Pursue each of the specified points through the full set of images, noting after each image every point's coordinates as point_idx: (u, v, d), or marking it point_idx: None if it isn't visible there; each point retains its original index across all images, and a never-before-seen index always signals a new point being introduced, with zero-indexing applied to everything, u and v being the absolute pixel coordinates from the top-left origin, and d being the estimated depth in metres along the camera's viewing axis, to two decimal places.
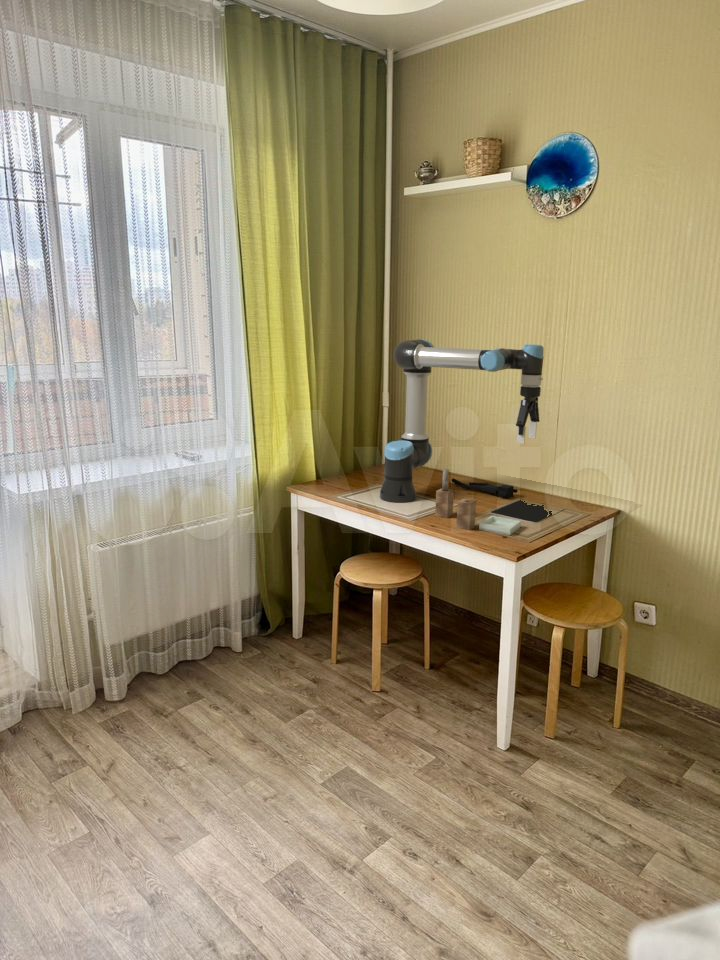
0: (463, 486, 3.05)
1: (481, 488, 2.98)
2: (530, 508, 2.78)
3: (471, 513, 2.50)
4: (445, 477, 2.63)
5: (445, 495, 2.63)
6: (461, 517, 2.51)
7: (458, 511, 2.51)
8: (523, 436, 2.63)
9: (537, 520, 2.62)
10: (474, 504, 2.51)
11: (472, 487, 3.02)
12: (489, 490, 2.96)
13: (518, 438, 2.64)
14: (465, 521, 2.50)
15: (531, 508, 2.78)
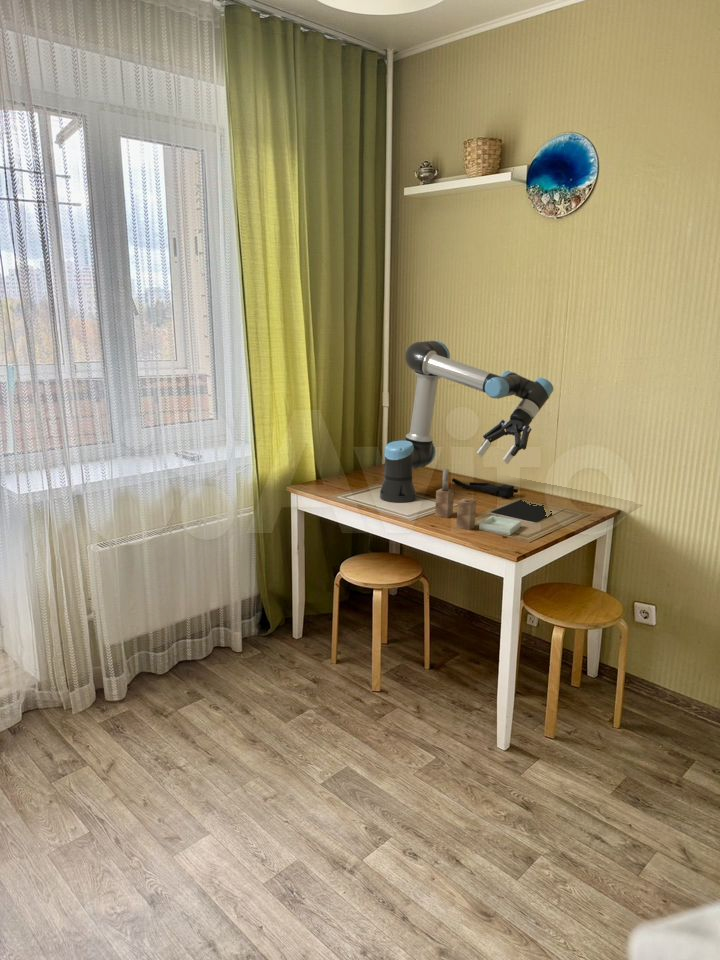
0: (463, 486, 3.05)
1: (481, 488, 2.99)
2: (530, 508, 2.78)
3: (471, 513, 2.50)
4: (445, 477, 2.63)
5: (445, 495, 2.63)
6: (461, 517, 2.51)
7: (458, 511, 2.51)
8: (511, 457, 2.48)
9: (537, 520, 2.62)
10: (474, 504, 2.51)
11: (472, 487, 3.02)
12: (489, 490, 2.96)
13: (508, 456, 2.47)
14: (465, 521, 2.50)
15: (531, 508, 2.78)
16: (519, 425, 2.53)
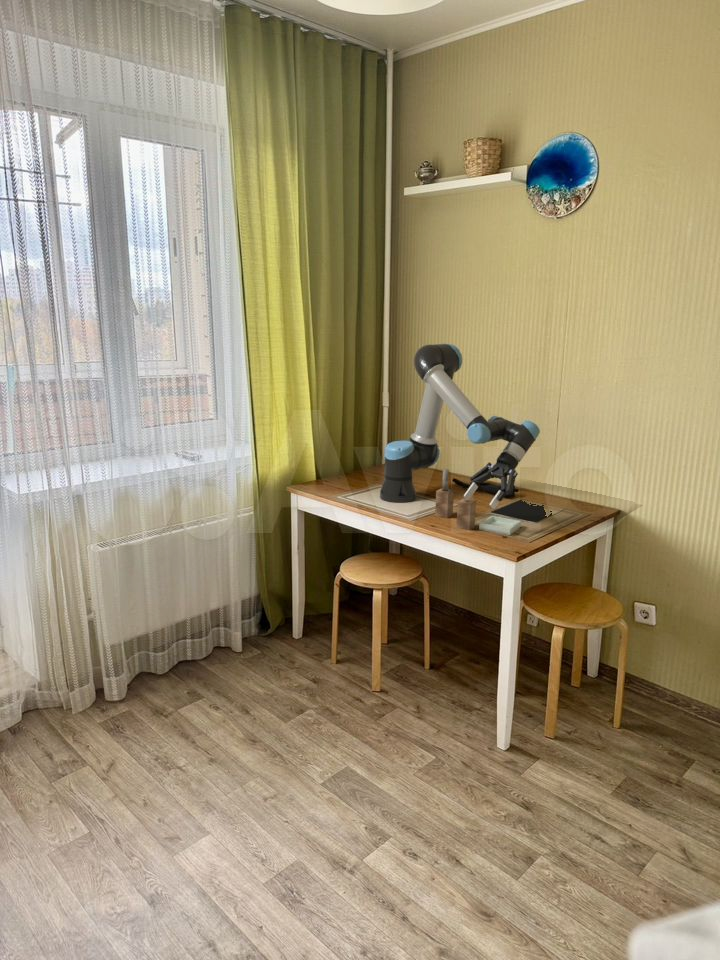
0: (464, 486, 3.06)
1: (482, 488, 2.99)
2: (530, 508, 2.78)
3: (471, 513, 2.50)
4: (445, 477, 2.63)
5: (445, 495, 2.63)
6: (461, 517, 2.51)
7: (458, 511, 2.51)
8: (498, 502, 2.48)
9: (537, 520, 2.62)
10: (474, 504, 2.51)
11: None
12: (490, 490, 2.97)
13: (494, 501, 2.47)
14: (465, 521, 2.50)
15: (531, 508, 2.78)
16: (505, 469, 2.53)
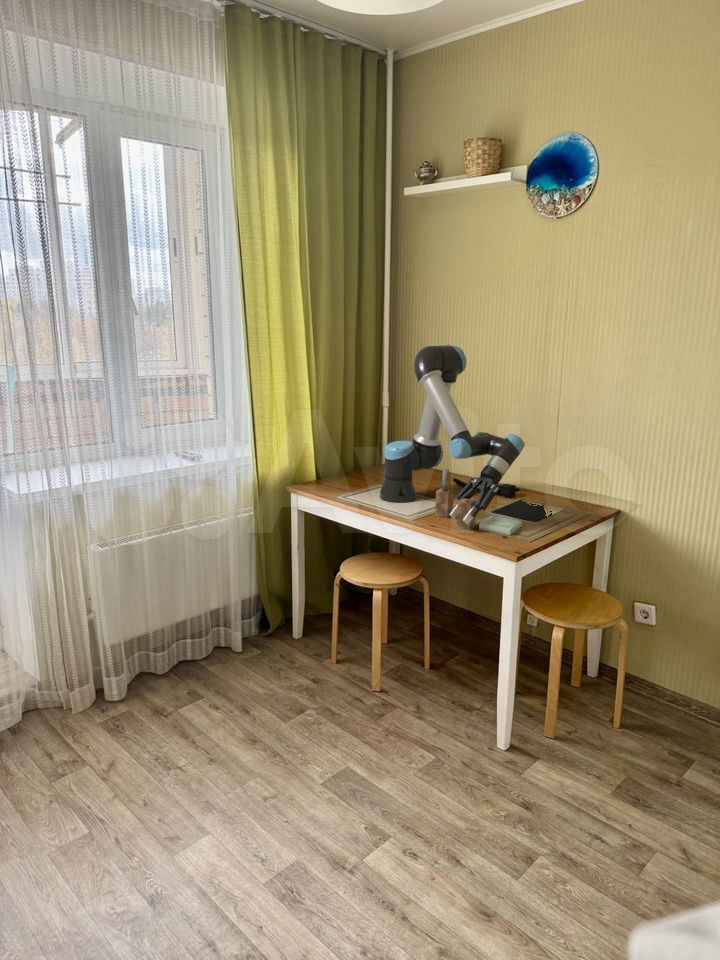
0: None
1: None
2: (530, 508, 2.78)
3: None
4: (445, 477, 2.63)
5: (445, 495, 2.63)
6: (461, 516, 2.51)
7: (458, 511, 2.51)
8: (471, 518, 2.48)
9: (537, 520, 2.62)
10: None
11: None
12: None
13: (467, 517, 2.47)
14: None
15: (531, 508, 2.78)
16: (489, 482, 2.51)
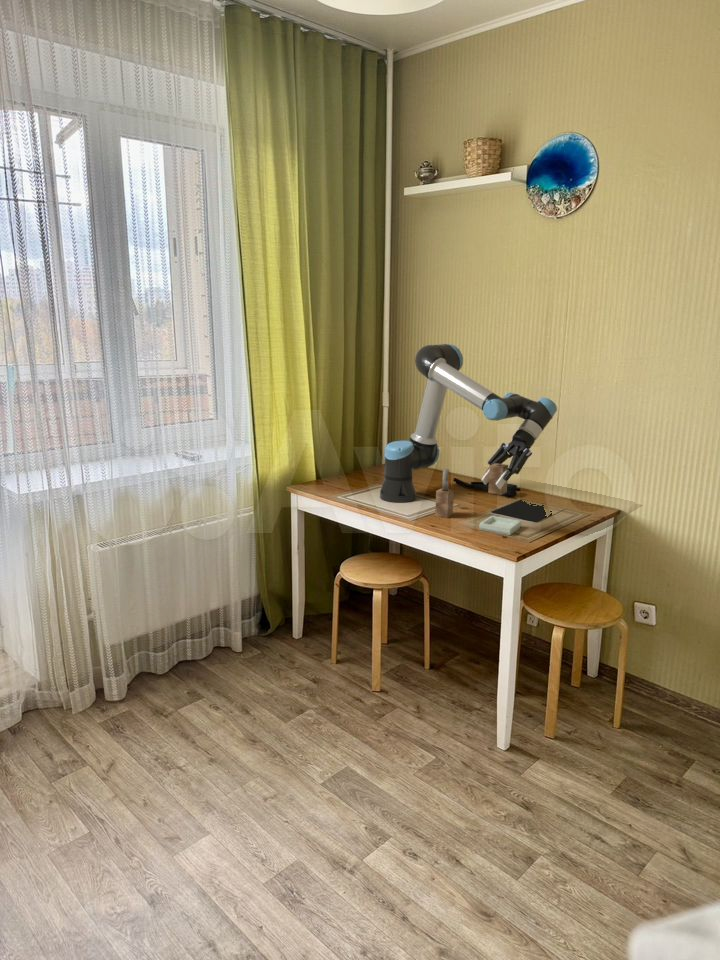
0: (466, 485, 3.06)
1: (484, 487, 3.00)
2: (530, 508, 2.78)
3: None
4: (445, 477, 2.63)
5: (445, 495, 2.63)
6: (493, 481, 2.46)
7: (490, 475, 2.47)
8: (504, 482, 2.44)
9: (537, 520, 2.62)
10: (506, 468, 2.47)
11: (475, 486, 3.03)
12: None
13: (500, 481, 2.43)
14: None
15: (531, 508, 2.78)
16: (521, 446, 2.47)
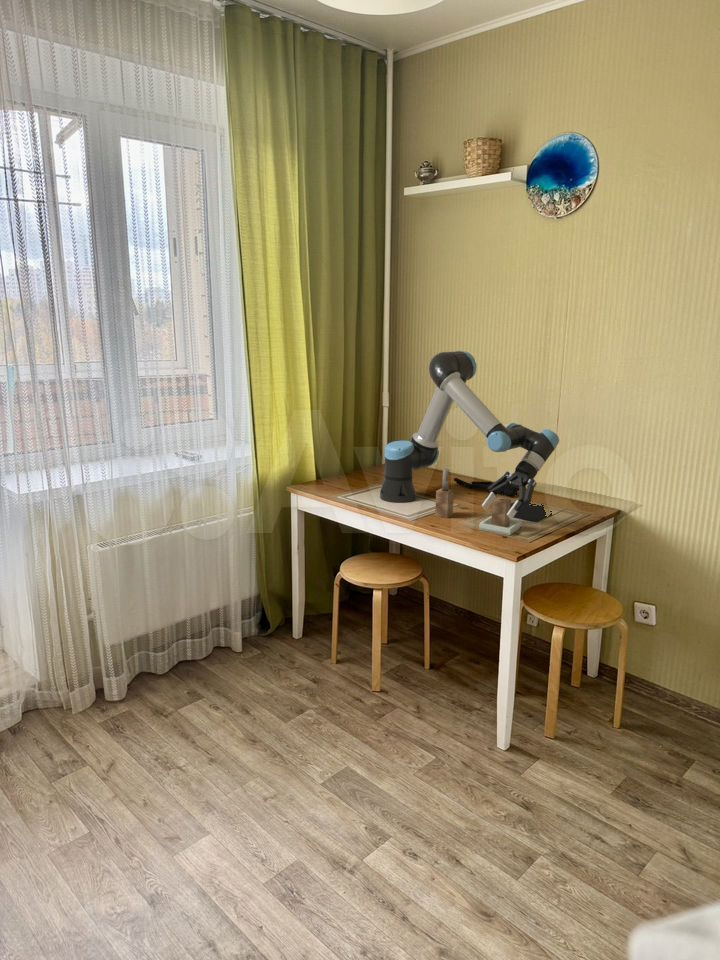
0: (466, 485, 3.07)
1: (485, 487, 3.01)
2: (530, 508, 2.78)
3: (506, 512, 2.49)
4: (445, 477, 2.63)
5: (445, 495, 2.63)
6: (495, 515, 2.50)
7: (493, 510, 2.50)
8: (515, 512, 2.45)
9: (537, 520, 2.62)
10: (509, 503, 2.50)
11: (476, 486, 3.04)
12: None
13: (511, 511, 2.44)
14: (500, 520, 2.49)
15: (531, 508, 2.78)
16: (524, 478, 2.50)
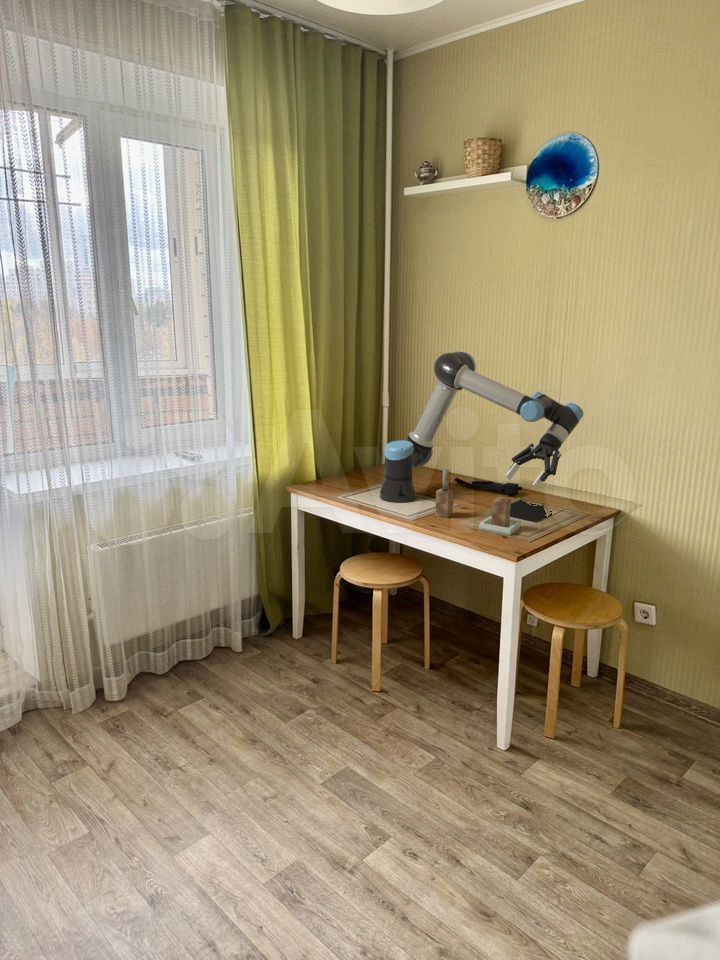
0: (467, 485, 3.07)
1: (486, 487, 3.01)
2: (530, 508, 2.78)
3: (506, 512, 2.49)
4: (445, 477, 2.63)
5: (445, 495, 2.63)
6: (495, 515, 2.50)
7: (493, 510, 2.50)
8: (540, 482, 2.50)
9: (537, 520, 2.62)
10: (509, 503, 2.50)
11: (477, 486, 3.04)
12: (495, 488, 2.99)
13: (537, 481, 2.48)
14: (500, 520, 2.49)
15: (531, 508, 2.78)
16: (549, 450, 2.54)
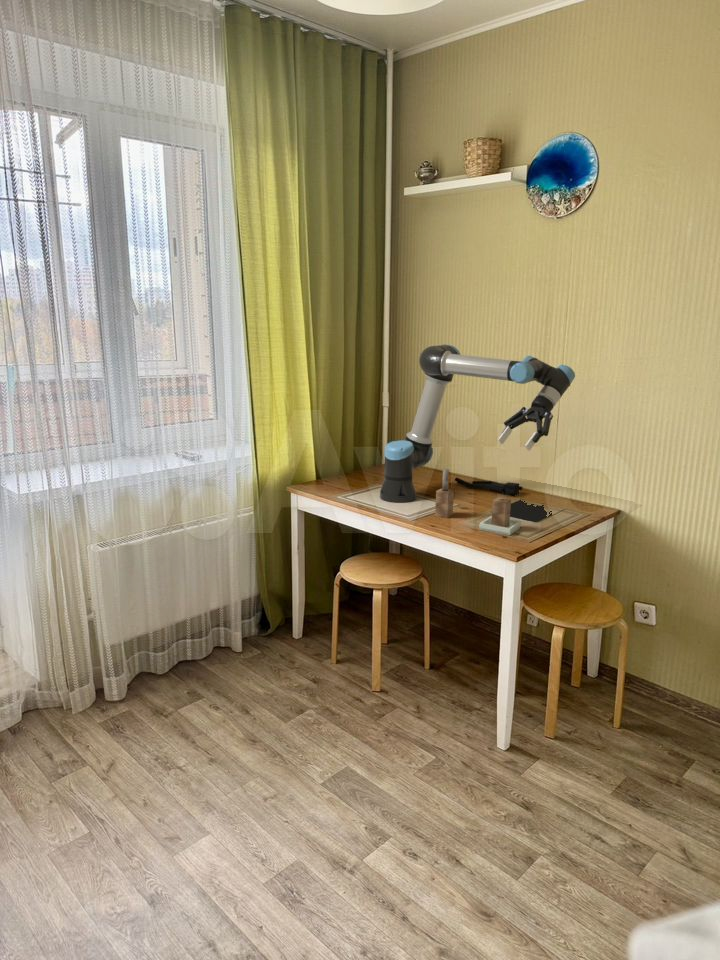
0: (468, 485, 3.08)
1: (487, 486, 3.02)
2: (530, 508, 2.78)
3: (506, 512, 2.49)
4: (445, 477, 2.63)
5: (445, 495, 2.63)
6: (495, 515, 2.50)
7: (493, 510, 2.50)
8: (533, 444, 2.47)
9: (537, 520, 2.62)
10: (509, 503, 2.50)
11: (477, 486, 3.04)
12: (495, 488, 2.99)
13: (529, 442, 2.46)
14: (500, 520, 2.49)
15: (531, 508, 2.78)
16: (541, 412, 2.52)
